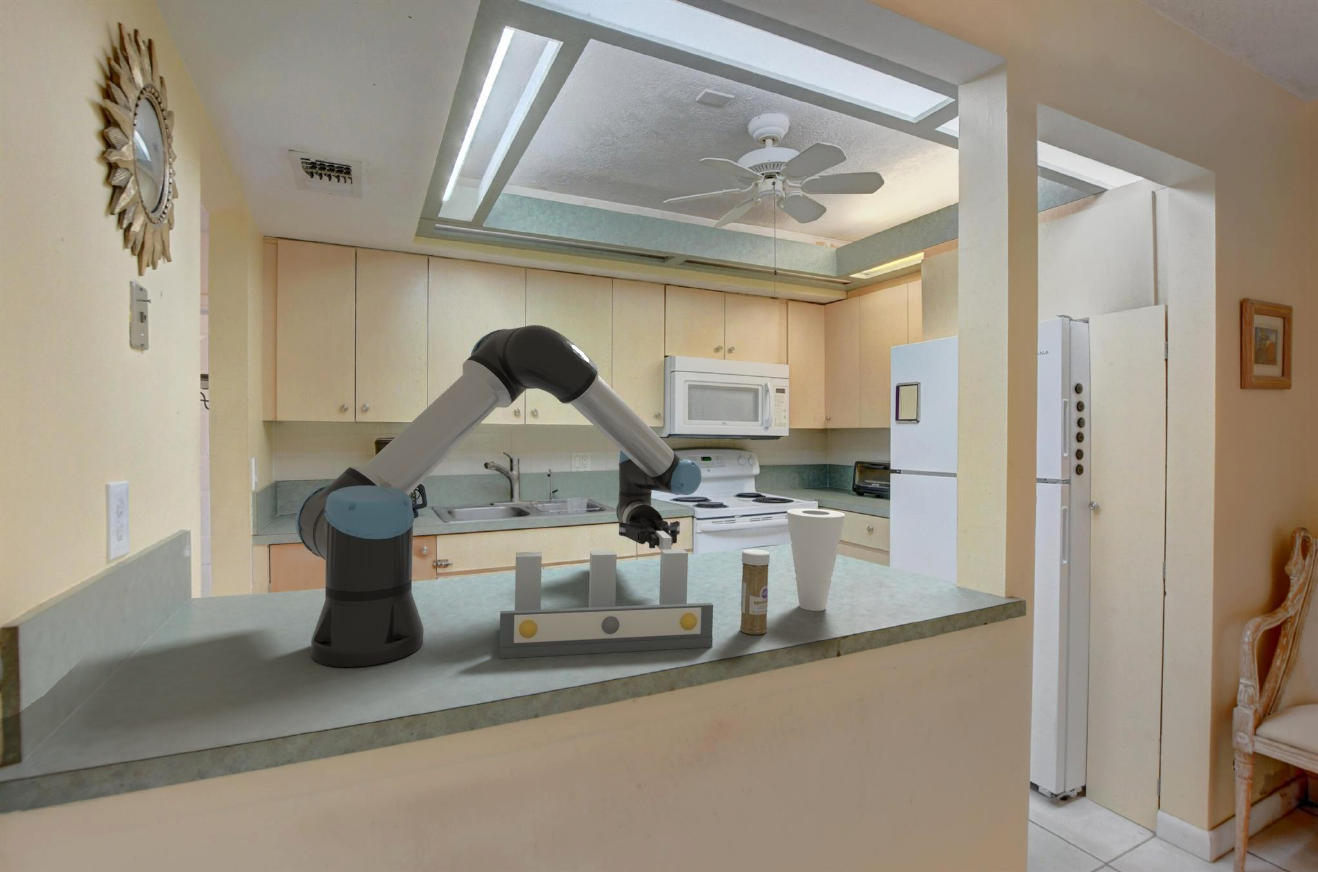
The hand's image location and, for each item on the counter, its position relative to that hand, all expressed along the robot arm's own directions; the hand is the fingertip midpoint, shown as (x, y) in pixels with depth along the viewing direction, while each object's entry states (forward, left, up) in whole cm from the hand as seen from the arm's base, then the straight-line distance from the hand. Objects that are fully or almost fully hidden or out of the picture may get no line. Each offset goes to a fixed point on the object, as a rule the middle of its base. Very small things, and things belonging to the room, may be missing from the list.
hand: (667, 545), depth 113 cm
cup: (+29, 0, -13) cm, 31 cm away
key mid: (-12, -7, -11) cm, 18 cm away
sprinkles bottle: (+13, -11, -13) cm, 21 cm away
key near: (-24, -7, -11) cm, 27 cm away
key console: (-12, -10, -12) cm, 20 cm away
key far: (0, -7, -11) cm, 13 cm away
